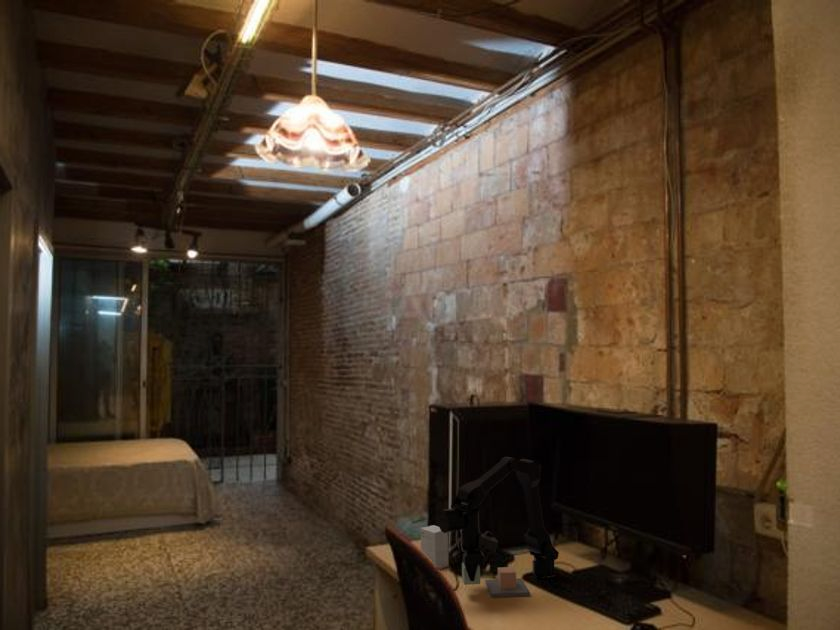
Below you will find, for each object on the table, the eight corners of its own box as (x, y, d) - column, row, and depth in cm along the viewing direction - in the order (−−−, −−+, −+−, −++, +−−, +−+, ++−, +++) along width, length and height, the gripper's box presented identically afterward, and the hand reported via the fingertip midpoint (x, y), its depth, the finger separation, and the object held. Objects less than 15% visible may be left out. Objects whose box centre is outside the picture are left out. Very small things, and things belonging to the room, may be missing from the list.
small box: (448, 566, 229) (448, 529, 230) (435, 570, 225) (434, 532, 226) (434, 560, 236) (433, 524, 236) (420, 564, 232) (420, 527, 232)
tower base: (521, 582, 213) (521, 578, 213) (529, 596, 201) (529, 592, 202) (485, 583, 213) (485, 579, 213) (491, 597, 201) (491, 593, 201)
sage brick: (477, 578, 205) (477, 562, 205) (480, 584, 200) (480, 567, 200) (462, 578, 205) (461, 562, 205) (464, 584, 200) (463, 568, 200)
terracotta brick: (513, 582, 210) (512, 566, 210) (516, 588, 205) (516, 572, 205) (497, 583, 209) (497, 567, 210) (500, 589, 204) (500, 573, 205)
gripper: (501, 535, 194) (502, 588, 194) (490, 518, 213) (491, 566, 212) (464, 536, 194) (465, 589, 193) (456, 519, 212) (457, 568, 212)
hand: (471, 577), depth 202 cm, fingers closed on sage brick, 5 cm apart
